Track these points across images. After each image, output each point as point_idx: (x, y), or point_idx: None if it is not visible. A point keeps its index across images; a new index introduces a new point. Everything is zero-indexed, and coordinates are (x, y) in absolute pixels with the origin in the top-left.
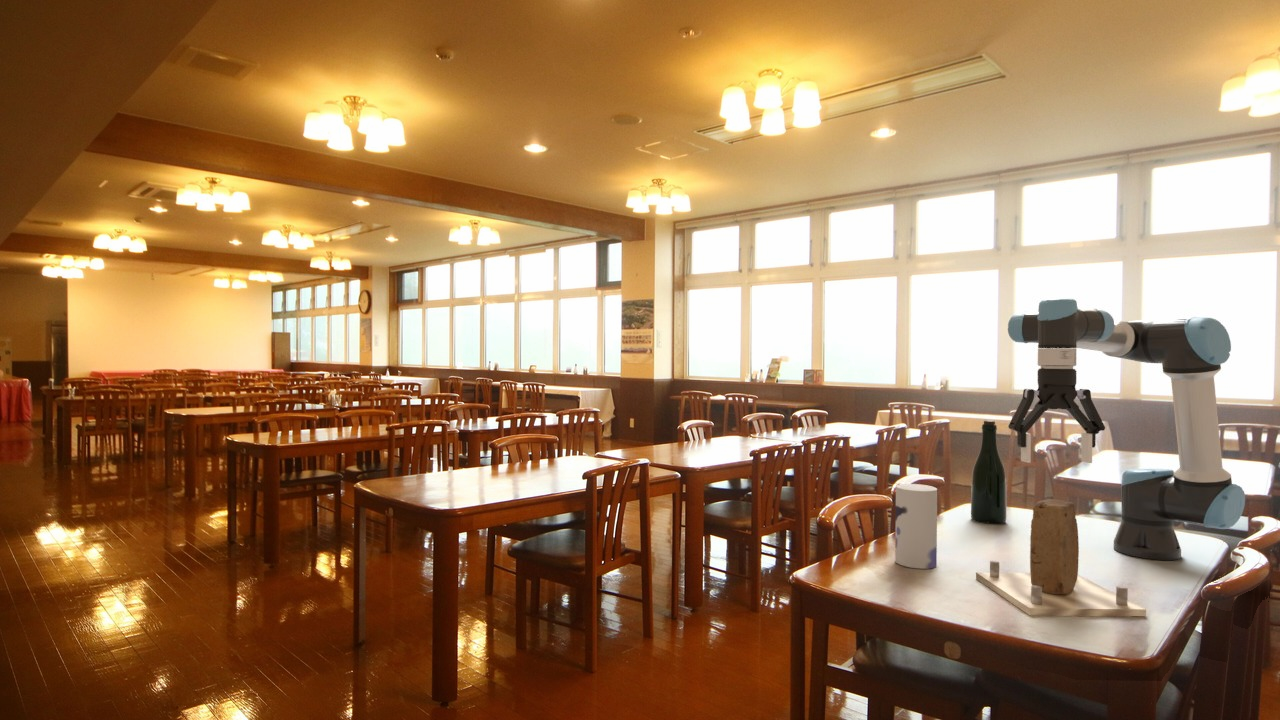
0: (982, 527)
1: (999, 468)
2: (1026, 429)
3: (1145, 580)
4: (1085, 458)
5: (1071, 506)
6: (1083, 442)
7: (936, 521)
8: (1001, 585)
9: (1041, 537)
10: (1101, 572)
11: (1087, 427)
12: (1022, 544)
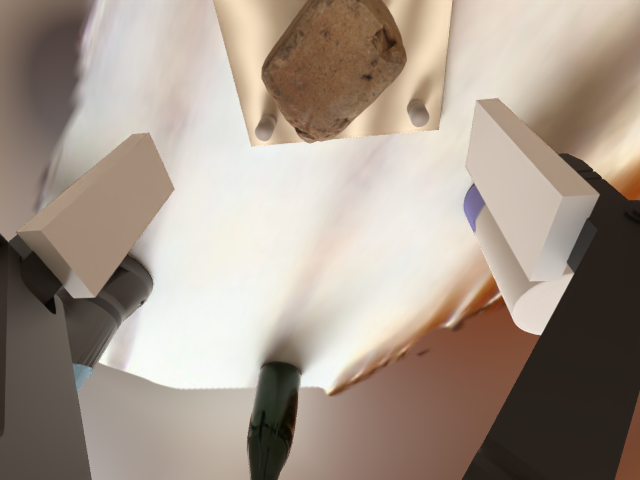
0: (299, 352)
1: (257, 444)
2: (633, 223)
3: None
4: (152, 166)
5: (282, 40)
6: (118, 235)
7: (501, 236)
8: (434, 44)
9: (385, 10)
10: (198, 184)
11: (14, 277)
12: (272, 296)
